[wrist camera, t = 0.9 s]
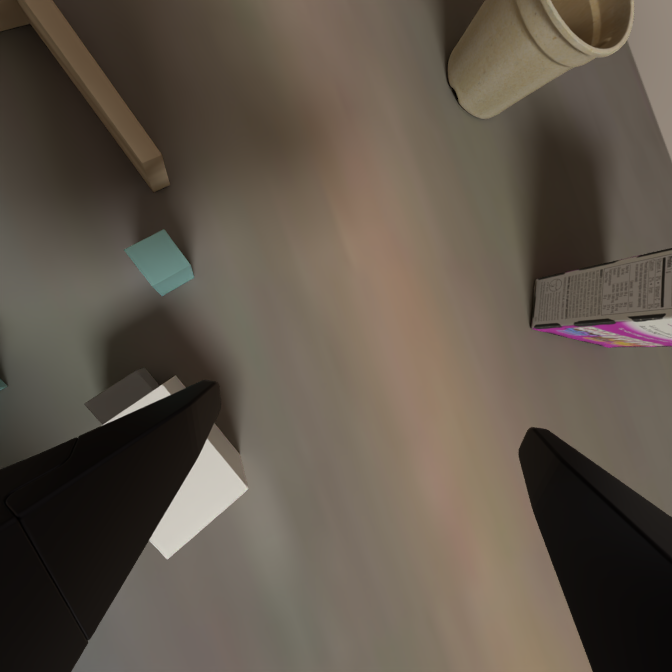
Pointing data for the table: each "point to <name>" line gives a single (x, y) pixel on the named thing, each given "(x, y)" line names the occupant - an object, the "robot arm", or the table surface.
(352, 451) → the table surface
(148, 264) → the teal block pair
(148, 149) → the open wooden frame
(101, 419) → the block
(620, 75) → the table surface
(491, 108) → the flower pot
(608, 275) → the candy bar box
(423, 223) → the table surface
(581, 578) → the robot arm
